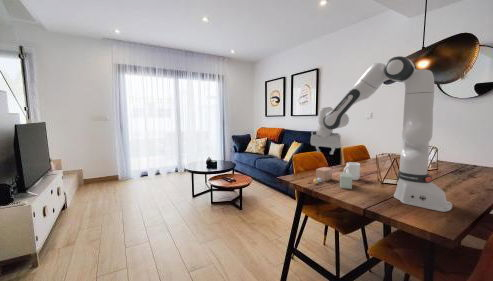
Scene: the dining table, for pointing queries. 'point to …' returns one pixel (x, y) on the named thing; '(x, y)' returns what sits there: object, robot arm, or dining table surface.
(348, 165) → the mug
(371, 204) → the dining table surface
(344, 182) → the mint green block
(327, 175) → the dusty pink block
